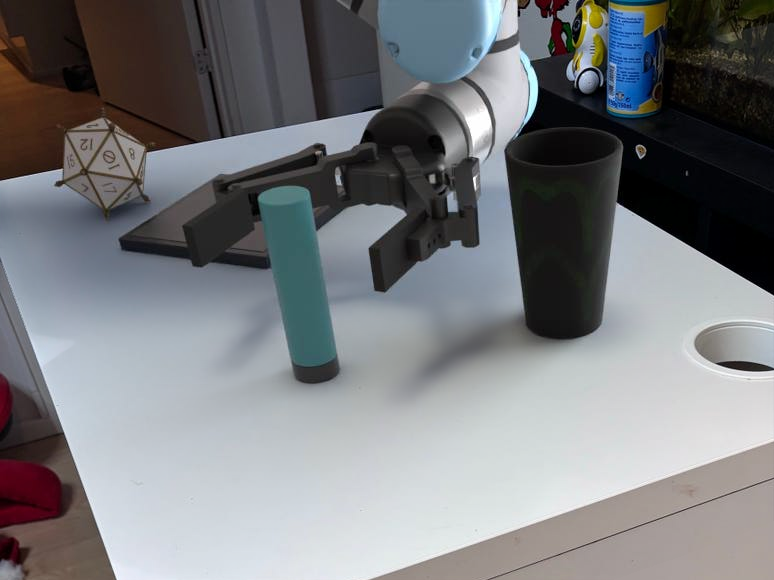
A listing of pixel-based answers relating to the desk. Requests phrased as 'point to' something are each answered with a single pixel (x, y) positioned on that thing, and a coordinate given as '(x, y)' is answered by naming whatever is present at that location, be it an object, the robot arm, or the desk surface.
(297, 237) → the teal cylinder
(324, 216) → the plate
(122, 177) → the game die
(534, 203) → the cup
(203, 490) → the desk surface
